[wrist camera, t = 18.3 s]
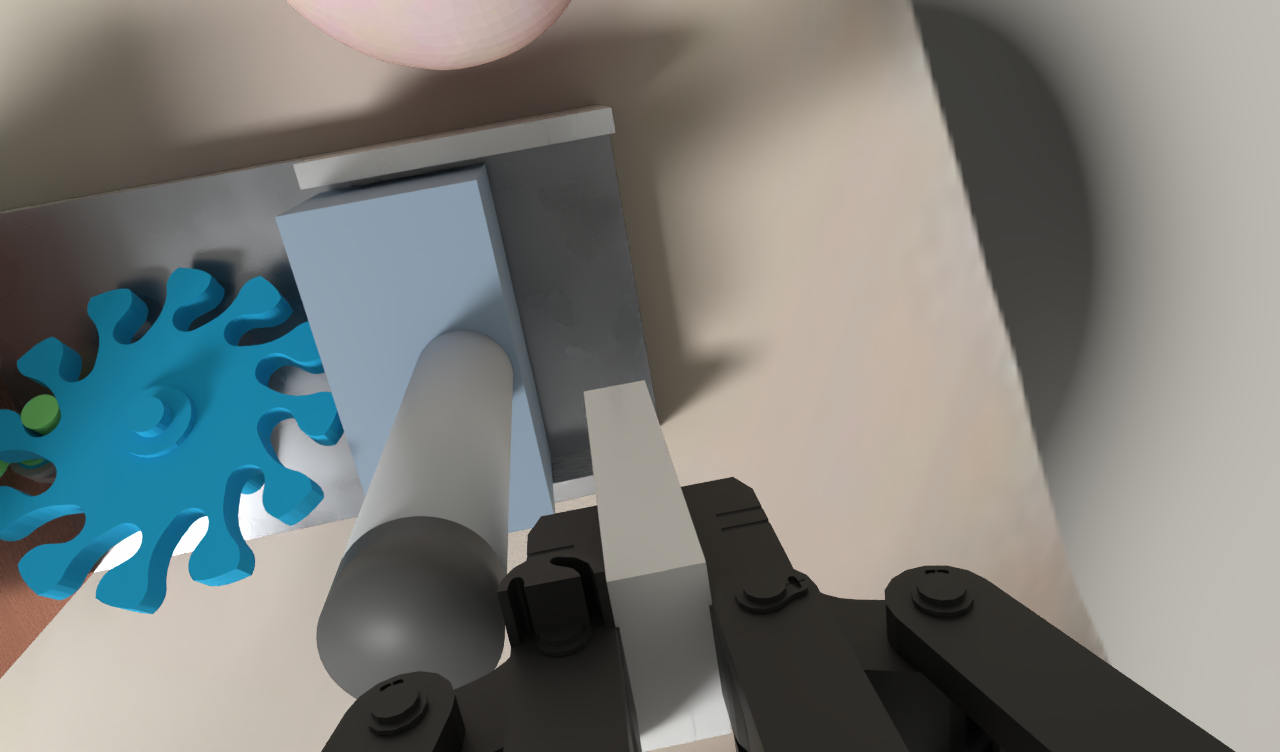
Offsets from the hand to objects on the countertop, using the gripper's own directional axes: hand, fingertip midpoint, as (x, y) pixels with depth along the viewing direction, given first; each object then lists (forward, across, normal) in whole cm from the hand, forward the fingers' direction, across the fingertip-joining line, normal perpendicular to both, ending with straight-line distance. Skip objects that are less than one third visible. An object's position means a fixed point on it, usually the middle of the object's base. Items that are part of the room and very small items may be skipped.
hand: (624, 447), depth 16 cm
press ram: (+11, +5, 0) cm, 12 cm away
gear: (+11, +13, 0) cm, 17 cm away
